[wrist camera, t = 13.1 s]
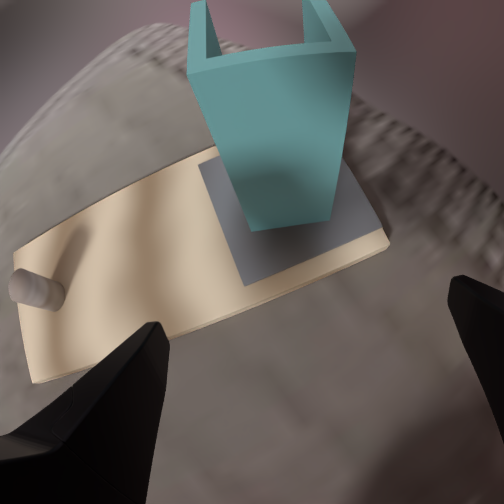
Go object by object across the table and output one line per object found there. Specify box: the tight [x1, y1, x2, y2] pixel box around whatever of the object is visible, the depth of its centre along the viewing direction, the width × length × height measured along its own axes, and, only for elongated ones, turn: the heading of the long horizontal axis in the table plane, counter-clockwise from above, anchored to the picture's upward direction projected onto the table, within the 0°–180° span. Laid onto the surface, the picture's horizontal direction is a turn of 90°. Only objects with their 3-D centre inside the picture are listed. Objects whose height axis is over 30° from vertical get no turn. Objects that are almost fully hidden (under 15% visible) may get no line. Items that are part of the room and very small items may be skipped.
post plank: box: [9, 146, 390, 383], centre depth 17 cm, size 24×10×4 cm, turn 112°
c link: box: [187, 0, 356, 232], centre depth 13 cm, size 4×4×11 cm
